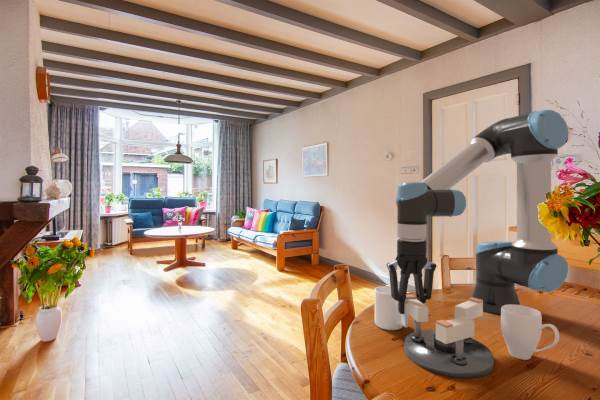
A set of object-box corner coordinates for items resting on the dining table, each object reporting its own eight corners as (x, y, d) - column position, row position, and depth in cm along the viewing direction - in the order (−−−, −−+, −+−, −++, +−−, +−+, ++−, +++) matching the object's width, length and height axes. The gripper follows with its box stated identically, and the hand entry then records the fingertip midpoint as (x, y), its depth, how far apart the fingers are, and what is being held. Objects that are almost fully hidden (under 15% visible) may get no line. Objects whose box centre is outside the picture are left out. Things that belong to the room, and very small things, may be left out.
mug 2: (493, 352, 82) (494, 308, 82) (510, 344, 86) (511, 302, 86) (550, 375, 72) (551, 324, 72) (565, 365, 76) (566, 316, 76)
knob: (463, 351, 76) (463, 314, 76) (473, 357, 74) (474, 318, 73) (435, 360, 72) (435, 320, 72) (445, 366, 70) (446, 325, 70)
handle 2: (465, 342, 81) (465, 307, 81) (454, 338, 83) (454, 303, 83) (482, 333, 86) (482, 300, 86) (471, 329, 89) (472, 297, 88)
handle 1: (428, 340, 82) (428, 305, 82) (417, 341, 82) (417, 306, 81) (412, 325, 91) (412, 294, 91) (402, 326, 91) (403, 294, 90)
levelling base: (461, 335, 92) (461, 316, 92) (514, 375, 72) (514, 351, 72) (392, 338, 90) (392, 319, 90) (427, 380, 70) (427, 355, 70)
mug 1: (396, 338, 90) (397, 299, 90) (368, 322, 101) (368, 288, 101) (418, 331, 94) (419, 295, 94) (389, 317, 105) (389, 284, 105)
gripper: (432, 236, 92) (431, 318, 93) (378, 237, 91) (377, 320, 92) (447, 240, 85) (446, 329, 86) (388, 241, 84) (387, 332, 84)
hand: (410, 324), depth 89 cm, fingers closed on handle 1, 3 cm apart
